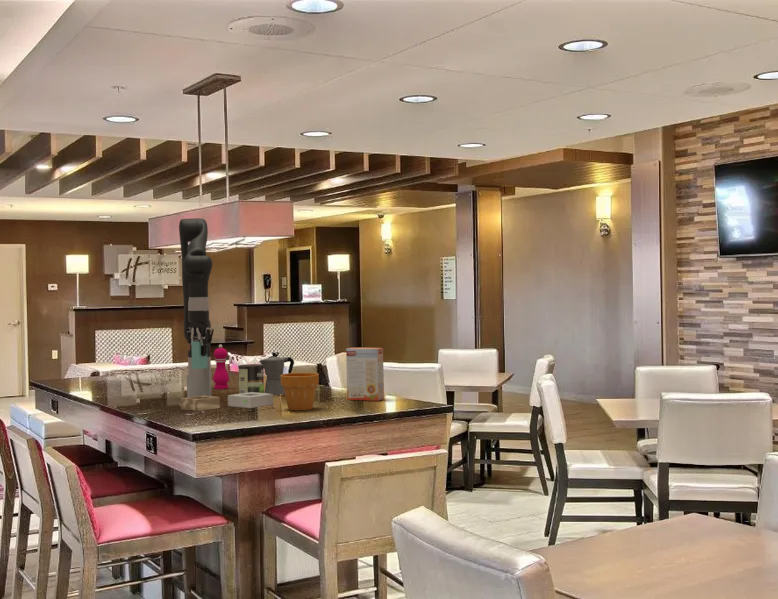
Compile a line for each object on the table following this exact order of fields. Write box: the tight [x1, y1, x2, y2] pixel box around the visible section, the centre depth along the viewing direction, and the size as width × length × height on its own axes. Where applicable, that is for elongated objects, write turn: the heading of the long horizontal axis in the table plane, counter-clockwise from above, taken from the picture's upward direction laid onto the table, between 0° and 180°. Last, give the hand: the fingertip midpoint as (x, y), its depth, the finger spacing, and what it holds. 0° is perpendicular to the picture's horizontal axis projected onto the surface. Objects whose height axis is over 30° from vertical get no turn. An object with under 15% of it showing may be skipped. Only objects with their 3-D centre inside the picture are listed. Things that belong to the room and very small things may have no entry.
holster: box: [180, 395, 221, 412], centre depth 338 cm, size 10×10×5 cm
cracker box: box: [345, 347, 385, 402], centre depth 364 cm, size 14×6×21 cm, turn 65°
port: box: [227, 392, 274, 409], centre depth 345 cm, size 12×12×5 cm
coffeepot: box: [258, 351, 295, 395], centre depth 386 cm, size 15×9×18 cm, turn 113°
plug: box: [190, 339, 207, 369], centre depth 338 cm, size 4×4×11 cm
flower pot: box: [281, 372, 320, 411], centre depth 339 cm, size 14×14×13 cm
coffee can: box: [237, 363, 265, 394], centre depth 370 cm, size 10×10×14 cm
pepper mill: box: [212, 344, 230, 390], centre depth 413 cm, size 7×7×20 cm
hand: (199, 355), depth 338 cm, fingers closed on plug, 4 cm apart
